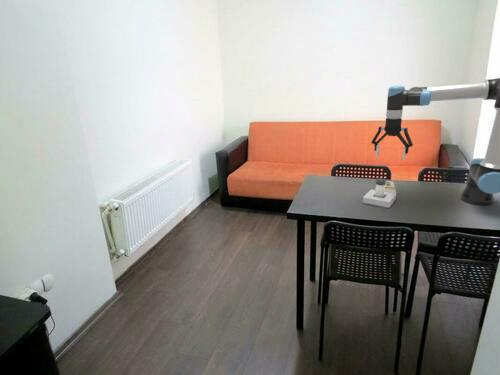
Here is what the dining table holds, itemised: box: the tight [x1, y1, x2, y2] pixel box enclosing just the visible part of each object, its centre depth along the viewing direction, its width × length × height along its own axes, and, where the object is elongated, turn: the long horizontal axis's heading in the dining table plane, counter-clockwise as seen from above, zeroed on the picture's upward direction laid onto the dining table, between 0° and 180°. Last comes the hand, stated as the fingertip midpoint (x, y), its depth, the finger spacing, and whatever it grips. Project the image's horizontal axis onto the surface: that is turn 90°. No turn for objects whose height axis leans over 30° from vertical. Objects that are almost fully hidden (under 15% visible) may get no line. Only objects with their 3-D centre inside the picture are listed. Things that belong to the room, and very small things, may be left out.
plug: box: [375, 178, 387, 198], centre depth 191 cm, size 5×5×12 cm
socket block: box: [362, 189, 397, 209], centre depth 193 cm, size 14×14×4 cm
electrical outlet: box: [384, 180, 398, 197], centre depth 206 cm, size 7×4×18 cm
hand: (390, 158), depth 185 cm, fingers open, 13 cm apart
